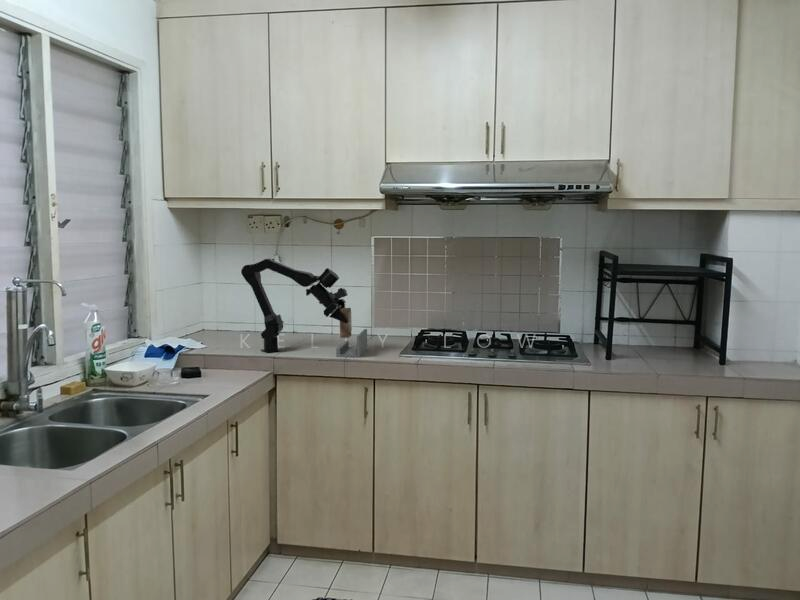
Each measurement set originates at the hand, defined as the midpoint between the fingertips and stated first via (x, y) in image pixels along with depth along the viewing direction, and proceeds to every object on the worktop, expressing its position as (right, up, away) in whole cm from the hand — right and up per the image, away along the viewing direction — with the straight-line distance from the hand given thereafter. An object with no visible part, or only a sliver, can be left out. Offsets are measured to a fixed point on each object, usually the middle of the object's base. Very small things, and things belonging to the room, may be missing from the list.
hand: (348, 321), depth 273 cm
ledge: (+1, -14, +1) cm, 14 cm away
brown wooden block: (-1, -7, +1) cm, 7 cm away
